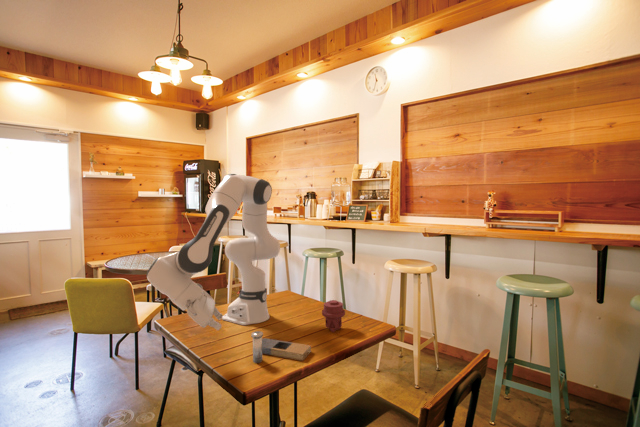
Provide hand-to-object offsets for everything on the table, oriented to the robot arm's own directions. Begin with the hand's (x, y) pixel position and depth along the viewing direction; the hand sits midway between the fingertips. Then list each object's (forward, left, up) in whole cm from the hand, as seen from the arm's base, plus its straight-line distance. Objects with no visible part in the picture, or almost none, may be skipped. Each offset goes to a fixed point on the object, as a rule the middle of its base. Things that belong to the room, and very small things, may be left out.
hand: (220, 322), depth 114 cm
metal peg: (+10, +7, -15) cm, 19 cm away
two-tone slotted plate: (+15, +16, -15) cm, 26 cm away
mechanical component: (+26, +43, -15) cm, 52 cm away
